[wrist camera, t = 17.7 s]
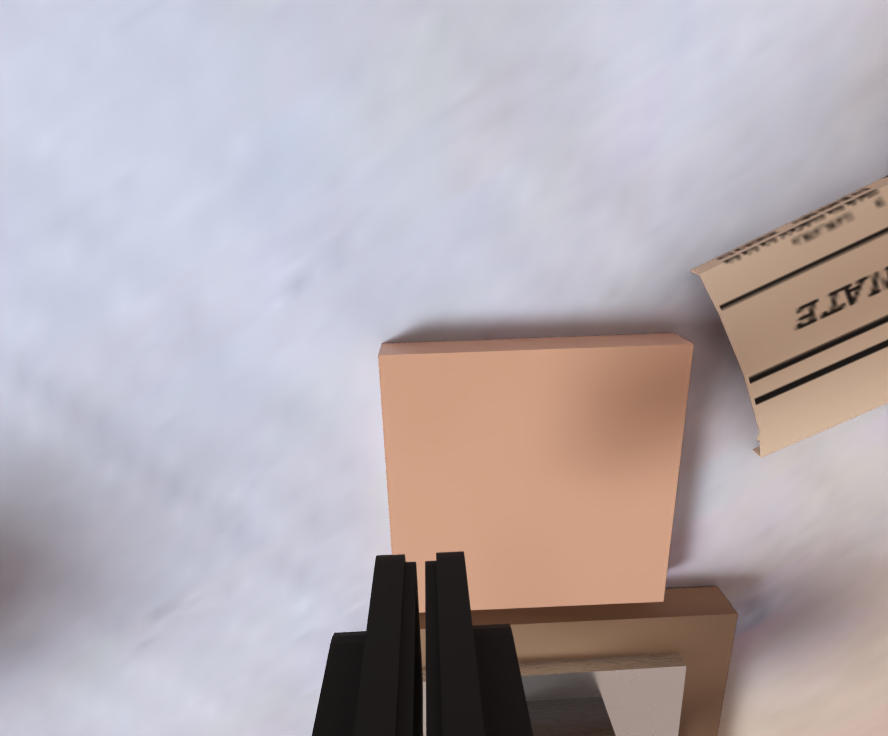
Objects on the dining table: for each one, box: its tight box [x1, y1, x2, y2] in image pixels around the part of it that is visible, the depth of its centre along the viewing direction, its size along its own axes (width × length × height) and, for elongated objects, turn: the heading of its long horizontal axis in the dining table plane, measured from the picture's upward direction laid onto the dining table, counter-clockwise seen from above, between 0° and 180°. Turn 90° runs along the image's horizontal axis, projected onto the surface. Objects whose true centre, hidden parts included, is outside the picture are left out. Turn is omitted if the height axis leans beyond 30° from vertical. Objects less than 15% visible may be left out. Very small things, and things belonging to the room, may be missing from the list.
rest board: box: [419, 586, 738, 736], centre depth 18 cm, size 8×11×1 cm
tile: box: [378, 333, 694, 613], centre depth 16 cm, size 8×2×8 cm
